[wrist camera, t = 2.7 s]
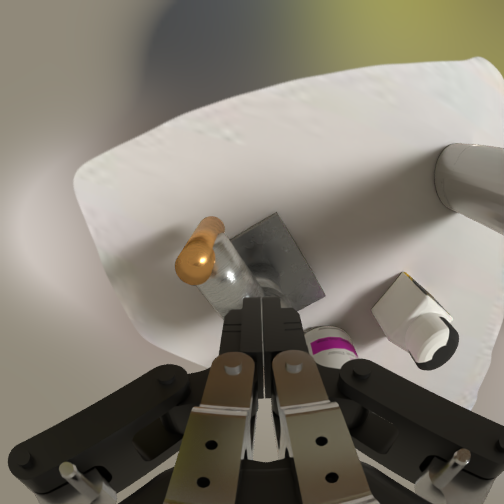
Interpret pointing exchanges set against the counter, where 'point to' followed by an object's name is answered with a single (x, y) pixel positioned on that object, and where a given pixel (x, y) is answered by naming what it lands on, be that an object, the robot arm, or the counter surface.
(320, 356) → the supplement can
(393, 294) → the medicine bottle
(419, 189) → the counter surface
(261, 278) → the grey stand with base
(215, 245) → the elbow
